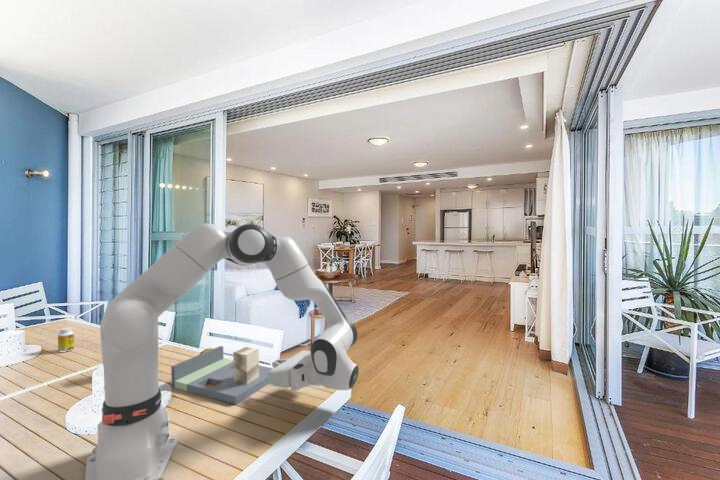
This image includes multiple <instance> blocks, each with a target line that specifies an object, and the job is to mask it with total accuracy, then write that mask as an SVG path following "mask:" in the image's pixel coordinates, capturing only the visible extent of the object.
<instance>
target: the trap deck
mask: <svg viewBox="0 0 720 480" xmlns="http://www.w3.org/2000/svg"><path fill="white" fill-rule="evenodd" d="M199 354H200V353H199ZM199 354H198V355H196V356H193V357H190V358H188V359H185V360H183V361H181V362H178V363H175V364H173V365H171V367H170V368H171V388H173V389H176V388H175V381H176V380H178V379H180V378H183V377H185V376H187V375H189V374H191V373H193V372H196V371H198V370H200V369H202V368H204V367H206V366H209V365H211V364H213V363H215V362H217V361H219V360H222V359H225V358H224V346H223V345H219V346H217V347H215V348H212V350H210V351H207V352H205V353H202V354H200V355H199ZM272 369H274V368H273V367H267V366H262V365H259V377H258V378H256V379H255V380H253V381H251V382H250V383H248V384H244V383H240V382H236V381H234V372H233V362H231V363H229V364H227V365H225V366H223V367H221V368H219V369H217V370H215V371H213V372H211V373H209V374H207V375H205V376H203V377H201V378H199V379H197V380H195V381H192V382H190V383H188V384H187V391H186V392H187V393H188V392H189V393H191V394H196V395H199V396H201V397H202V396H204V397H207V398H210V399H214V400H218V401H222V402H226V403H229V404H232V405H233V404H234V405H236V406H237V405H238V404H240V403H241V402H243V401H245V400H246V399H247V398H249V397H250V396H252V395H253V394H255V393H256V392H258V391H260V390H261V389H263V388H264V387H266V386H268V384H270V383H269V381H268V372H269V371H270V370H272Z"/></svg>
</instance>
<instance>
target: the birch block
mask: <svg viewBox="0 0 720 480" xmlns="http://www.w3.org/2000/svg"><path fill="white" fill-rule="evenodd" d="M259 354H260V353H259V348H255V347H248V346H245V347H242V348H239V349H238V350H236V351H234V352H233V353H232V357H233V359H232V360H233V372H234V381H236V382H240V383H244V384H248V383H250V382H251V381H253V380H255V379H256V378H258V377H259V366H260V359H259V358H260V357H259Z"/></svg>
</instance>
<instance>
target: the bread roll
mask: <svg viewBox="0 0 720 480" xmlns="http://www.w3.org/2000/svg"><path fill="white" fill-rule="evenodd" d="M212 349H213V348H209V347H208V348H205V349H203V350H202V351H200V352H199V354H198V355H200V354H202V353H205V352H207V351H210V350H212Z"/></svg>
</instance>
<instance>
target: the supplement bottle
mask: <svg viewBox="0 0 720 480" xmlns="http://www.w3.org/2000/svg"><path fill="white" fill-rule="evenodd" d="M57 349H58V350H59V351H67V350H71V349H73V350H75V333H74V331H73V329H72V327H70V326H69V327H63V328H61V329H59V333H58V334H57ZM58 350H57V351H58ZM59 351H58V352H59ZM71 351H72V350H71Z"/></svg>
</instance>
